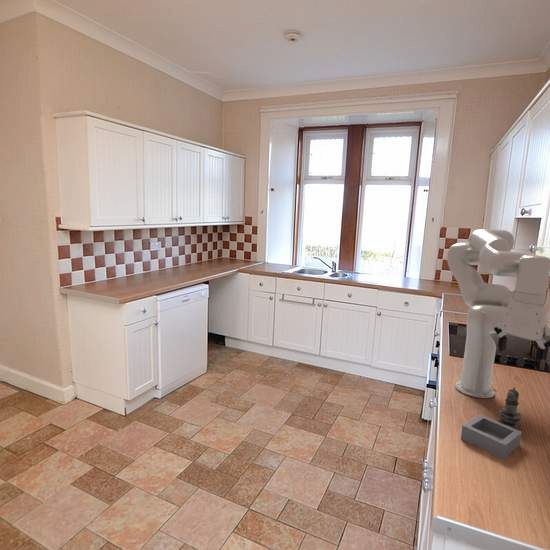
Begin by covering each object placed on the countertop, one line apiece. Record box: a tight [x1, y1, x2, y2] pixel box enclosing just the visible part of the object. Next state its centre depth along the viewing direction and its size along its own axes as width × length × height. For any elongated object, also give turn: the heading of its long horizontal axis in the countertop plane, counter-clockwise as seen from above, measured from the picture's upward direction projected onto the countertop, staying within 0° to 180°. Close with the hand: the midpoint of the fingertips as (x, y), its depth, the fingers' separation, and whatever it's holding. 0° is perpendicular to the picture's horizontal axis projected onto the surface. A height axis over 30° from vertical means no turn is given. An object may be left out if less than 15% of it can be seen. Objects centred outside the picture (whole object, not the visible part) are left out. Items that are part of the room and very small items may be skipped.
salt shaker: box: [497, 387, 522, 430], centre depth 114 cm, size 6×6×12 cm
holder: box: [460, 414, 523, 460], centre depth 105 cm, size 11×11×4 cm
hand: (519, 355), depth 112 cm, fingers open, 9 cm apart
